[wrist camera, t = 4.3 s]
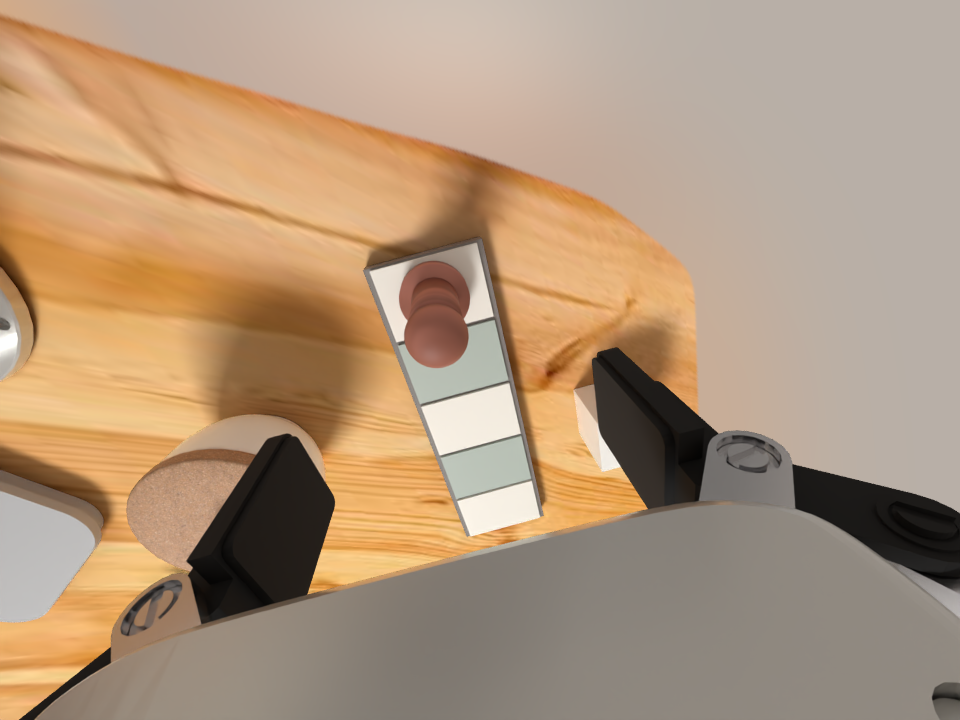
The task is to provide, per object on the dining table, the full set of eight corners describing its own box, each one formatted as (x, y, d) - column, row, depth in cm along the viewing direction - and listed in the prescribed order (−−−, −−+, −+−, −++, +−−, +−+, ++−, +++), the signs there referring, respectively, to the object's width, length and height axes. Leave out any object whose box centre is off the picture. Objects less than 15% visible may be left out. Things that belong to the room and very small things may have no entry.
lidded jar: (206, 489, 31) (123, 604, 22) (190, 381, 26) (78, 475, 18) (338, 496, 33) (307, 603, 24) (343, 397, 28) (307, 487, 20)
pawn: (390, 271, 23) (370, 316, 15) (458, 252, 23) (473, 289, 15) (412, 334, 25) (405, 402, 17) (475, 317, 25) (496, 378, 18)
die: (573, 389, 31) (597, 424, 26) (628, 373, 31) (662, 406, 26) (579, 433, 33) (602, 472, 29) (631, 418, 33) (662, 456, 29)
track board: (365, 267, 24) (362, 270, 23) (480, 236, 24) (482, 239, 23) (466, 528, 37) (467, 538, 36) (540, 507, 37) (544, 517, 36)
